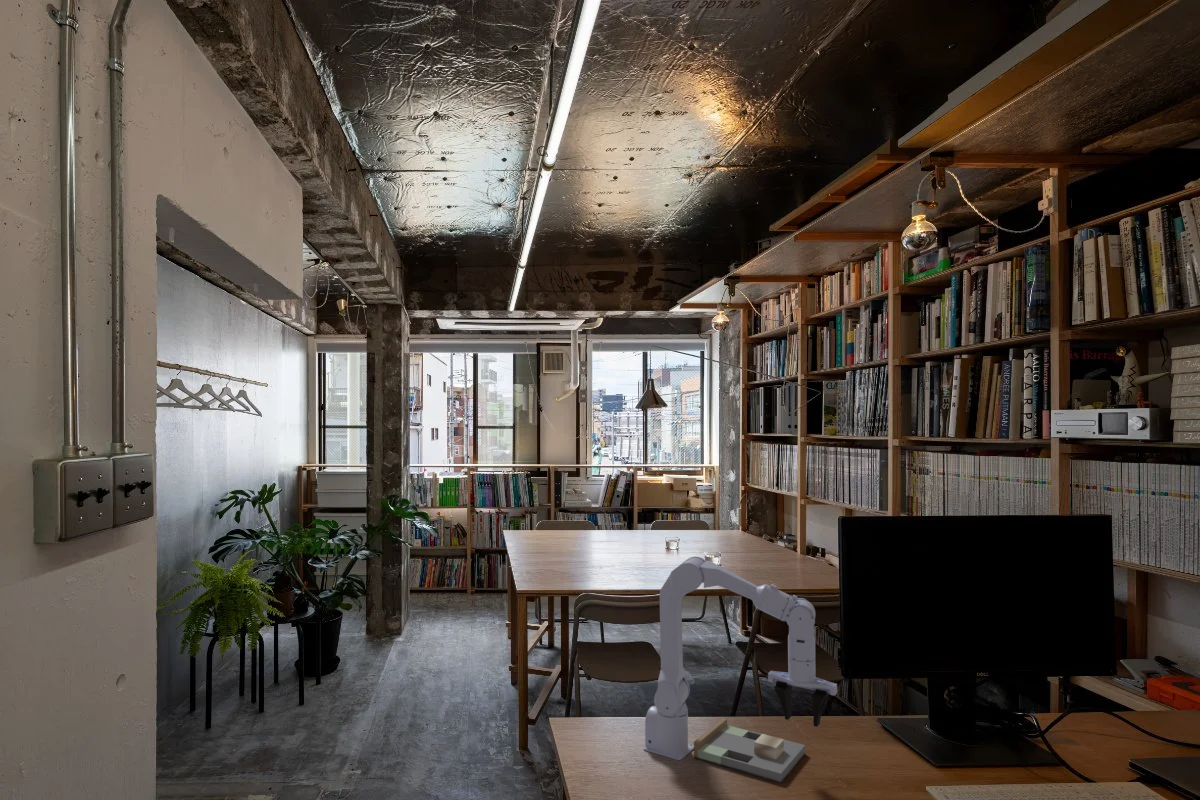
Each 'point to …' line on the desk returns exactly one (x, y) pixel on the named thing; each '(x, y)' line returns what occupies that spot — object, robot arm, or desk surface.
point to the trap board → (745, 752)
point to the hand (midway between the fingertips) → (802, 721)
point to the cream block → (769, 746)
